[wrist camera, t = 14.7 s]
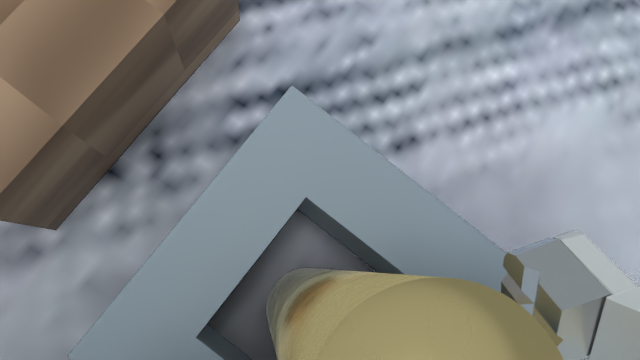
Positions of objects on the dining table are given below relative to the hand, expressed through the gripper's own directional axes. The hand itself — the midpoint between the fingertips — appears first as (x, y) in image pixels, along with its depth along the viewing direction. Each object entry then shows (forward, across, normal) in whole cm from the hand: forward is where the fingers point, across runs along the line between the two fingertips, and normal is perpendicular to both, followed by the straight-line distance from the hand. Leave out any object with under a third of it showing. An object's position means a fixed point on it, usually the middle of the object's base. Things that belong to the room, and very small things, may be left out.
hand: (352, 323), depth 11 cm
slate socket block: (+8, 0, +8) cm, 11 cm away
